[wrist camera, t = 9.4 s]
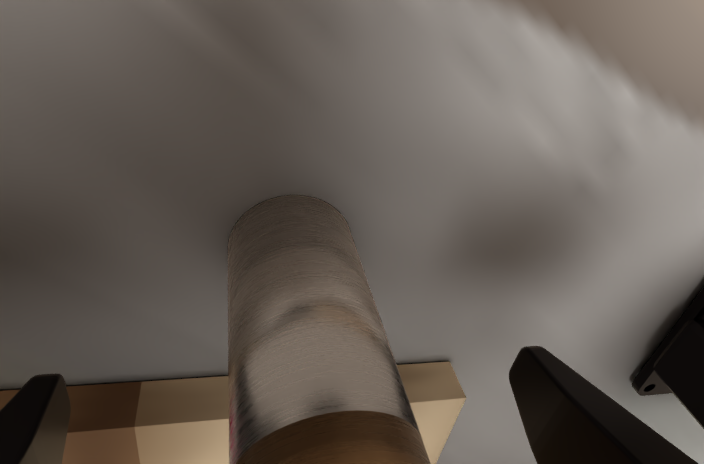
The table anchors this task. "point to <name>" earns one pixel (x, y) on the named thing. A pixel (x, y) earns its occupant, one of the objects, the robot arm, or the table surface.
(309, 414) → the bronze metal canister
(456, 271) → the table surface
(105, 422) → the board
